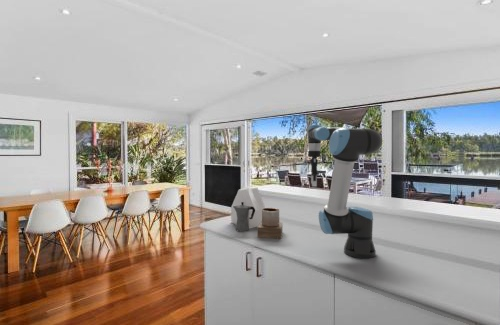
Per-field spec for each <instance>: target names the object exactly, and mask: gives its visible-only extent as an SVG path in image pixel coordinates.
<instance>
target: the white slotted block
mask: <svg viewBox="0 0 500 325" xmlns="http://www.w3.org/2000/svg"><path fill="white" fill-rule="evenodd" d="M263 200H264V199H263V198H262V196H261V193H260V190H259V188H258V187H255V186H254V187H249V188H240V189H238V190H237V193H236V195H235V197H234V199H233V202H232V204H231V207H230V211H231V212H230V217H231V218H230V219H231V221H230V223H231V224H233V225H234V224H235V225H236V224H237V213H236V210H235V209H234V207H233V206H239V205H242V204H241V202H244V204H243V205H246V206H251V207H254V208H255V213H254V216H253V218H252V219H249V218H251V214H252V211H253V210H252V209H250V210H249V212H248V217H247V219H248V226H249V229H252V228H258V226H259V224H260V222H262V209H264V208H266V205H265V203H264V201H263Z"/></svg>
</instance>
